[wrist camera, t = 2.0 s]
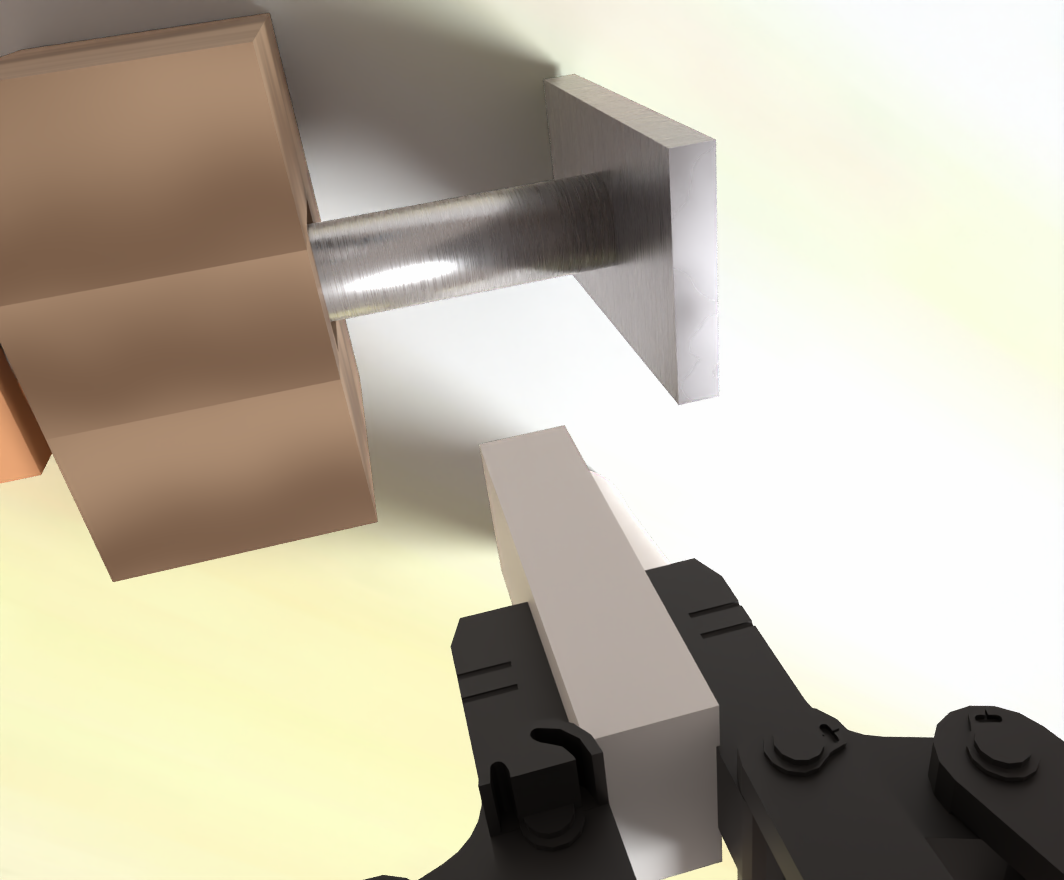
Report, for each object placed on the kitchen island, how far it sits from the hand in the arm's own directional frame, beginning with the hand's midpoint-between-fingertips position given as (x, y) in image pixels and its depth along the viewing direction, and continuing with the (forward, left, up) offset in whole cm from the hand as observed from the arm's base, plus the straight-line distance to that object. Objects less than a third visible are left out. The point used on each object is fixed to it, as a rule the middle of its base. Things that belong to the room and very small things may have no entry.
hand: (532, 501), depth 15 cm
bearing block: (0, -7, -21) cm, 23 cm away
